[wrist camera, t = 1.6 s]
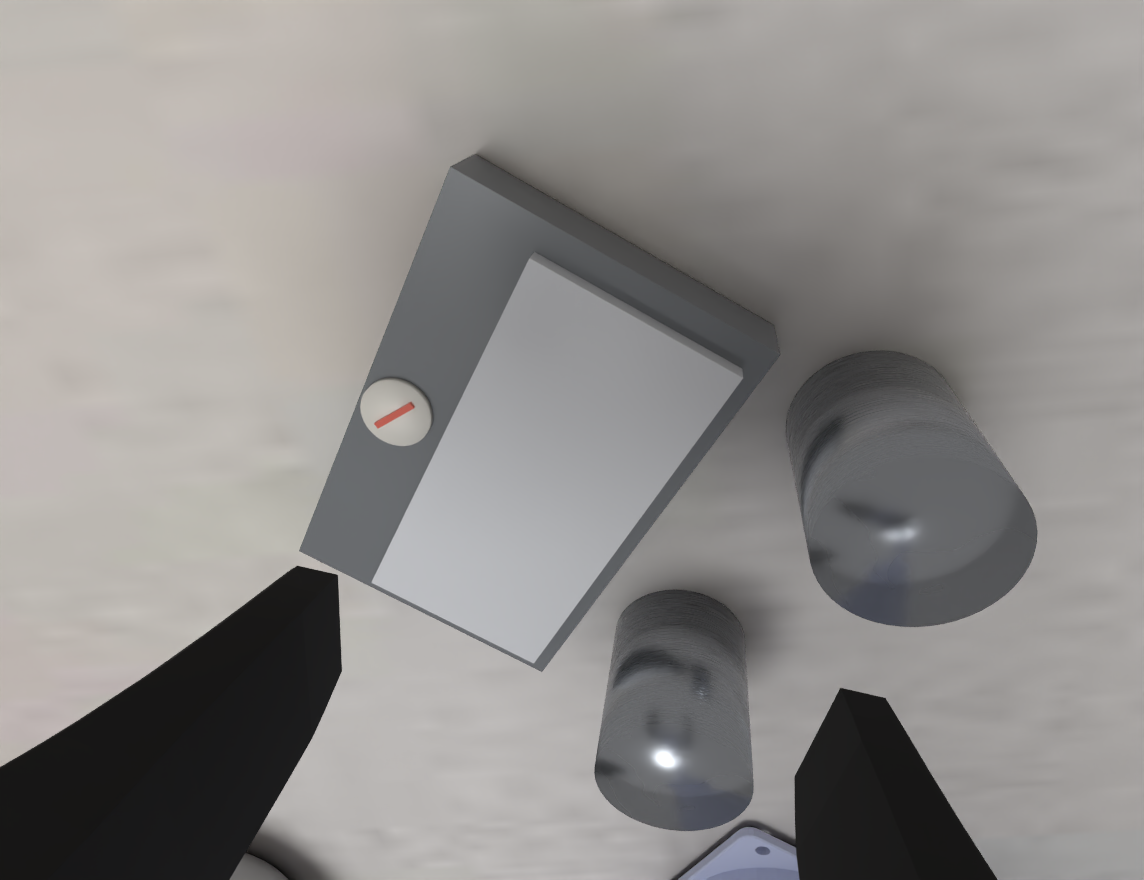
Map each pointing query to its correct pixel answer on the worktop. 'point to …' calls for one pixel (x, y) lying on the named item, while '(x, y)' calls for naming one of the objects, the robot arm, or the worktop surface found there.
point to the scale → (528, 415)
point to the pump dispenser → (256, 870)
